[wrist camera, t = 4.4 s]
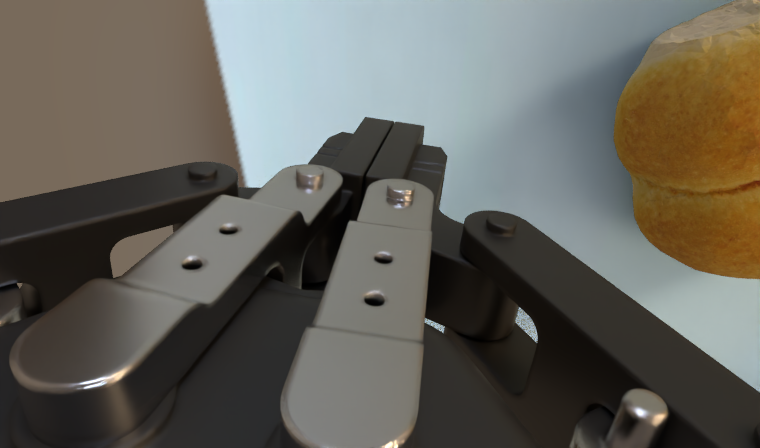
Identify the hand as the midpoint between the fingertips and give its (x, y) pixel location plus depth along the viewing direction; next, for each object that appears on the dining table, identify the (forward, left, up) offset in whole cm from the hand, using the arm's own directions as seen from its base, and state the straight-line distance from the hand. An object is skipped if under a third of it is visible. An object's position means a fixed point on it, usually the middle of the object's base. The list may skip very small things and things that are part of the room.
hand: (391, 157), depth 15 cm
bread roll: (+7, +8, -7) cm, 13 cm away
